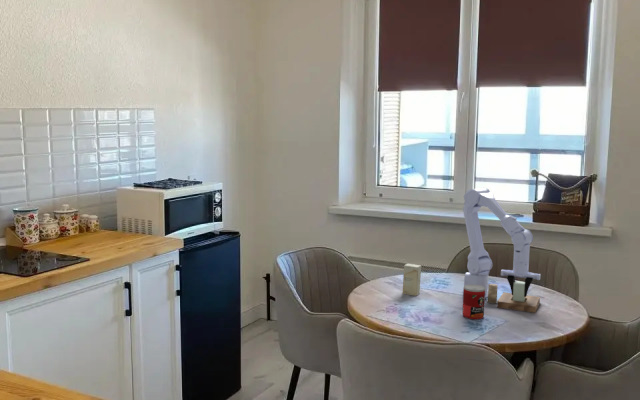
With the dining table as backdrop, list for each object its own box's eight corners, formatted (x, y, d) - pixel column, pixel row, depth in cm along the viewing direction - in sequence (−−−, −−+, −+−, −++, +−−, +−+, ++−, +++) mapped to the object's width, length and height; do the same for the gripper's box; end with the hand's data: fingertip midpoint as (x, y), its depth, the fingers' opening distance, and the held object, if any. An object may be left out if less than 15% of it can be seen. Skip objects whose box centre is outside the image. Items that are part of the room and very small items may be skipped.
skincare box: (402, 293, 252) (403, 265, 250) (406, 291, 256) (407, 263, 254) (416, 296, 249) (417, 267, 247) (420, 293, 253) (421, 265, 251)
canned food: (472, 320, 219) (473, 291, 218) (457, 314, 227) (458, 285, 225) (488, 317, 223) (490, 288, 222) (473, 311, 230) (474, 283, 229)
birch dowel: (486, 302, 241) (487, 285, 240) (488, 300, 244) (489, 283, 244) (495, 304, 240) (496, 286, 239) (497, 301, 243) (498, 284, 242)
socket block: (497, 307, 236) (497, 301, 235) (503, 297, 248) (503, 292, 248) (535, 312, 229) (535, 306, 229) (539, 302, 242) (540, 297, 242)
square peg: (512, 303, 237) (513, 283, 236) (514, 300, 241) (515, 280, 240) (523, 304, 236) (524, 284, 235) (524, 302, 239) (525, 282, 238)
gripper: (500, 261, 236) (498, 295, 238) (539, 265, 230) (537, 300, 231) (503, 257, 242) (501, 290, 244) (541, 261, 236) (539, 295, 238)
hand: (519, 295), depth 238 cm, fingers closed on square peg, 4 cm apart
